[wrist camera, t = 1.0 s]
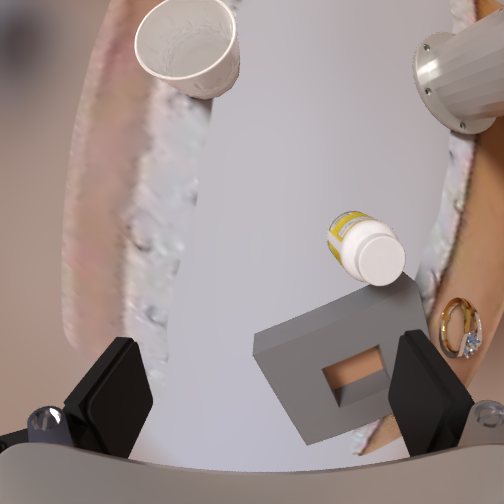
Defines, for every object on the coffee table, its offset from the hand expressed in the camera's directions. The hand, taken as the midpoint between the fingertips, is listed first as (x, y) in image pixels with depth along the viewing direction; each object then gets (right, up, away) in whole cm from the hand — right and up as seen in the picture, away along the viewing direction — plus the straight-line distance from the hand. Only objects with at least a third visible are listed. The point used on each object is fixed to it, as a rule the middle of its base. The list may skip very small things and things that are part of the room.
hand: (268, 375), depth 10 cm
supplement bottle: (+10, +6, +22) cm, 25 cm away
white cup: (-5, +23, +19) cm, 30 cm away
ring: (+23, -4, +24) cm, 34 cm away
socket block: (+11, -8, +26) cm, 29 cm away
